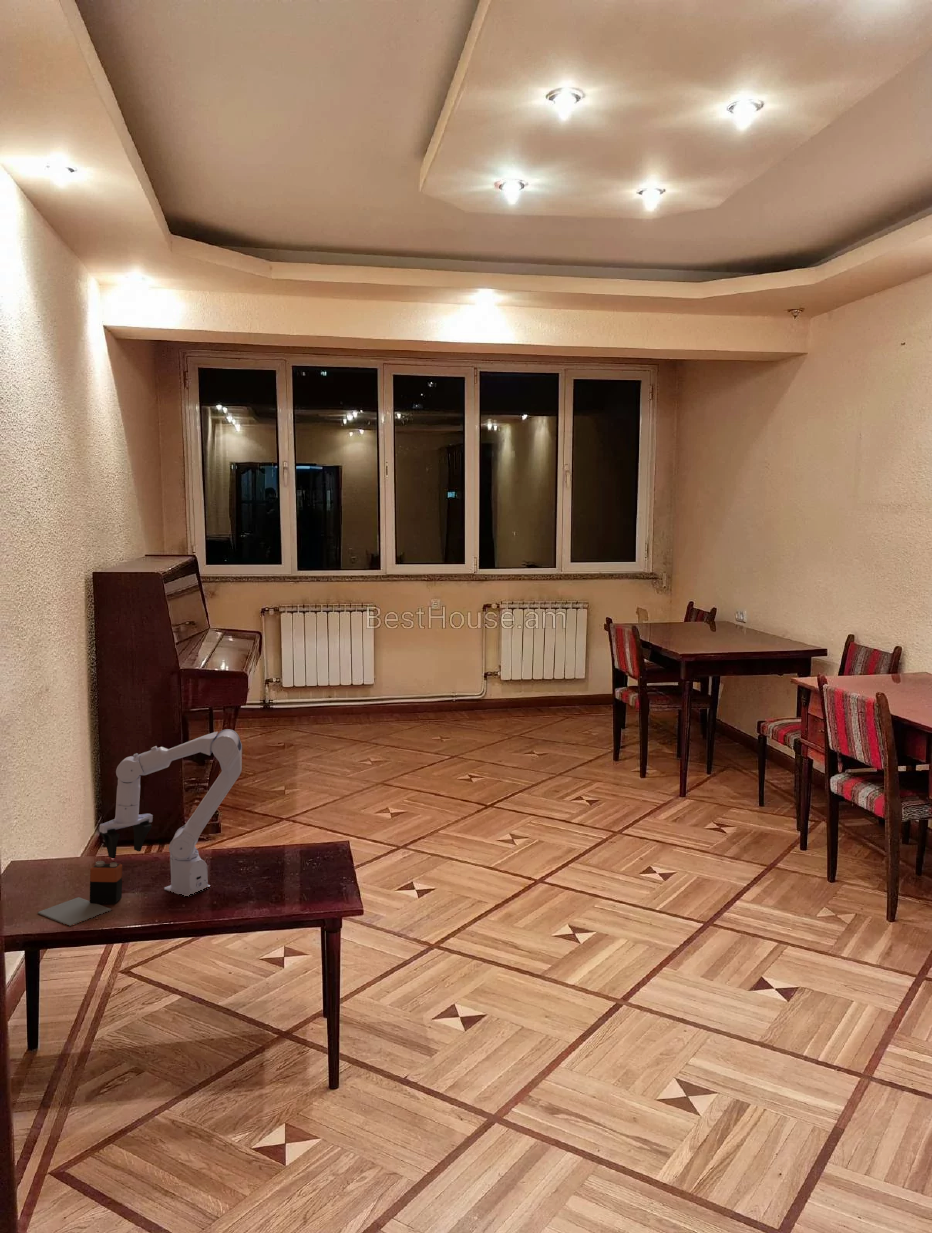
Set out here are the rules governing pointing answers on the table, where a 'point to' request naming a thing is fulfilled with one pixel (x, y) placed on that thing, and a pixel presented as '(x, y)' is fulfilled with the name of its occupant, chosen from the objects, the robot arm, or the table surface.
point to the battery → (106, 883)
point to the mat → (74, 911)
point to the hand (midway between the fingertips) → (124, 853)
